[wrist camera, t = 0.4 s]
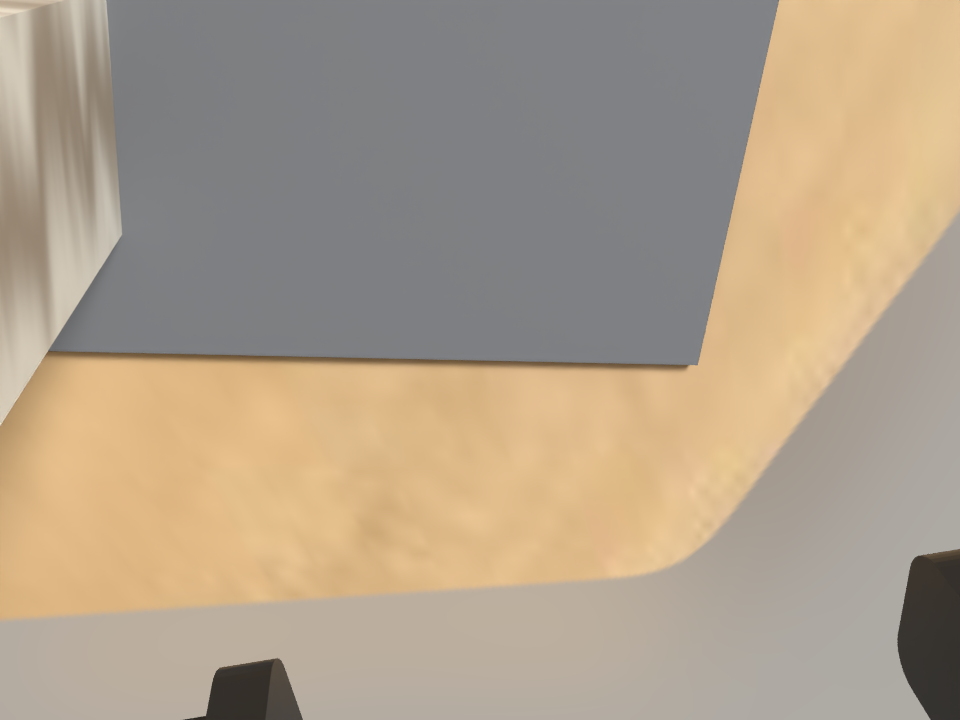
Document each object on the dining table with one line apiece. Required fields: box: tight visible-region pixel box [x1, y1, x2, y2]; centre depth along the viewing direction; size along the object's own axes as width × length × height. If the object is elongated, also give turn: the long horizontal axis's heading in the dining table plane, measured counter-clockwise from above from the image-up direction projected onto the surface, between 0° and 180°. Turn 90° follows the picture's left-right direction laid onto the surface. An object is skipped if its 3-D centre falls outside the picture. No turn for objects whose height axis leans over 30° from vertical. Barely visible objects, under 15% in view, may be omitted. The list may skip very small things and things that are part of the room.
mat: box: [48, 0, 779, 365], centre depth 28 cm, size 15×24×1 cm, turn 84°
